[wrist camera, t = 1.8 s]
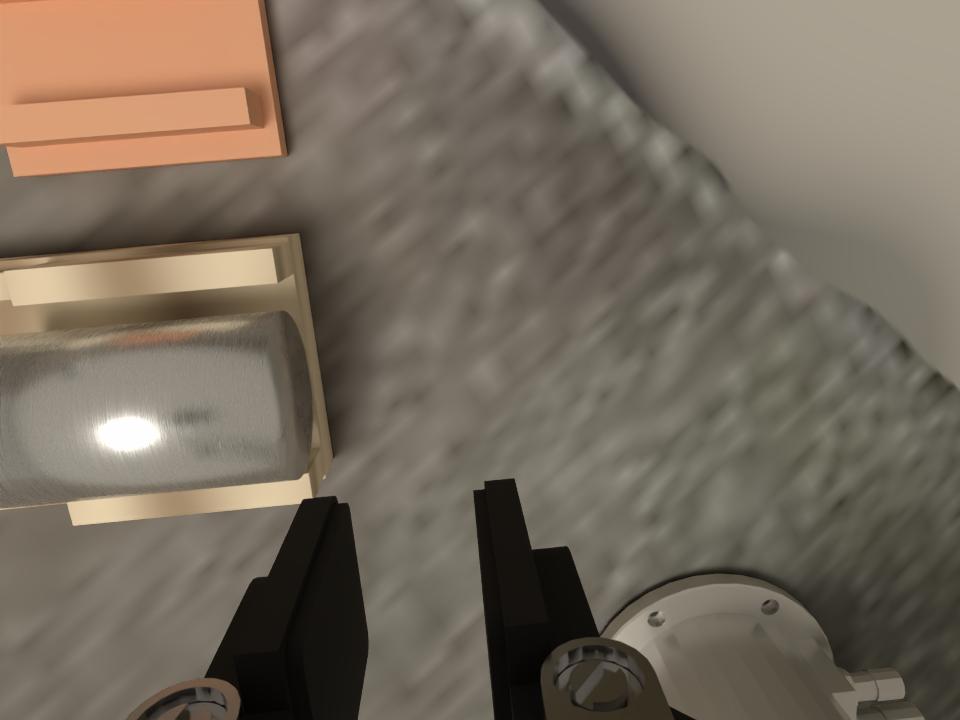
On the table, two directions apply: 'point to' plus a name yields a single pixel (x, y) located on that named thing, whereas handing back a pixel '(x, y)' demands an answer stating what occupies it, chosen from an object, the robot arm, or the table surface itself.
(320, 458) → the beige elongated piece
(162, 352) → the grey metal cylinder
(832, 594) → the table surface
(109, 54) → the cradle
